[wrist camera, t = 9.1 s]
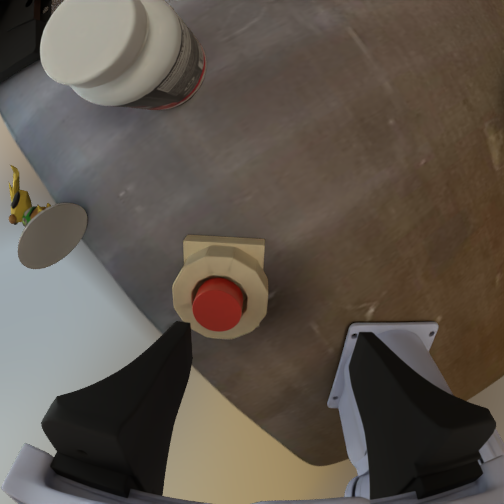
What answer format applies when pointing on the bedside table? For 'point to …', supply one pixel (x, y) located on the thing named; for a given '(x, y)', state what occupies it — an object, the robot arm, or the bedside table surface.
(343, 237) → the bedside table surface
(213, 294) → the button
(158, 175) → the bedside table surface
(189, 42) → the pill bottle
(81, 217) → the figurine
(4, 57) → the cassette tape
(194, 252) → the button box
